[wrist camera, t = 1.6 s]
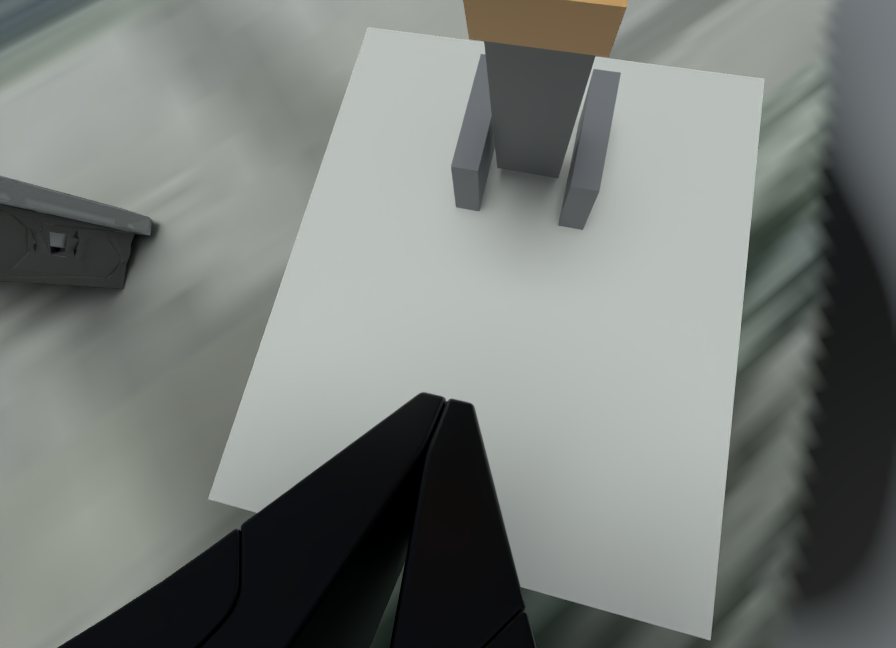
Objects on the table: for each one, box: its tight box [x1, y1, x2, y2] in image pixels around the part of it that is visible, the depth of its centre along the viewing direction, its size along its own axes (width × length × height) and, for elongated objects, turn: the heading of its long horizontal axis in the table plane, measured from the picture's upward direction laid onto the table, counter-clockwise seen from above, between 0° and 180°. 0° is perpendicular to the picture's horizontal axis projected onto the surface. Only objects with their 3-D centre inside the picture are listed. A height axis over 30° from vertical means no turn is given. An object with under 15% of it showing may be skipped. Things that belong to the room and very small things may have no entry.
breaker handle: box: [463, 0, 628, 178], centre depth 14 cm, size 2×3×11 cm, turn 76°
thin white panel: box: [208, 27, 764, 641], centre depth 19 cm, size 22×18×6 cm
